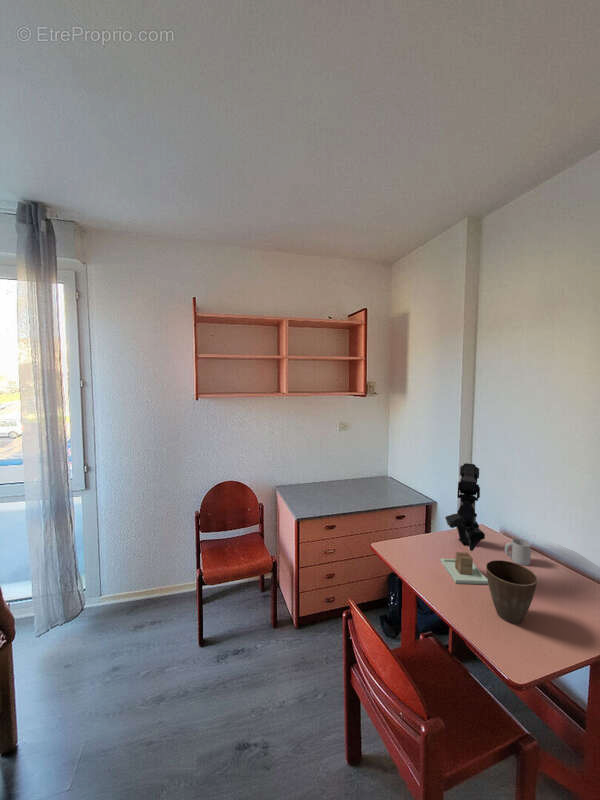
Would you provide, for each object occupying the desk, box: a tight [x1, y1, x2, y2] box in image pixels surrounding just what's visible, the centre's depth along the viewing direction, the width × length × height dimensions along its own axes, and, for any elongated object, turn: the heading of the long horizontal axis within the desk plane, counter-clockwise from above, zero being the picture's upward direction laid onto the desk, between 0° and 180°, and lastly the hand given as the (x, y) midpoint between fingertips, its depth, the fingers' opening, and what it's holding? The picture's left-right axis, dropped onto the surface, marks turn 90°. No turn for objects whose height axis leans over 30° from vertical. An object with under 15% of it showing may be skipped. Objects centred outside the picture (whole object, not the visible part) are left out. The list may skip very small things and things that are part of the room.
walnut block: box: [454, 551, 474, 575], centre depth 139 cm, size 5×5×7 cm
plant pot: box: [485, 559, 538, 624], centre depth 113 cm, size 15×15×16 cm
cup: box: [504, 538, 532, 566], centre depth 149 cm, size 7×10×9 cm
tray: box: [440, 558, 489, 586], centre depth 140 cm, size 16×13×2 cm
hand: (466, 545), depth 140 cm, fingers open, 9 cm apart
